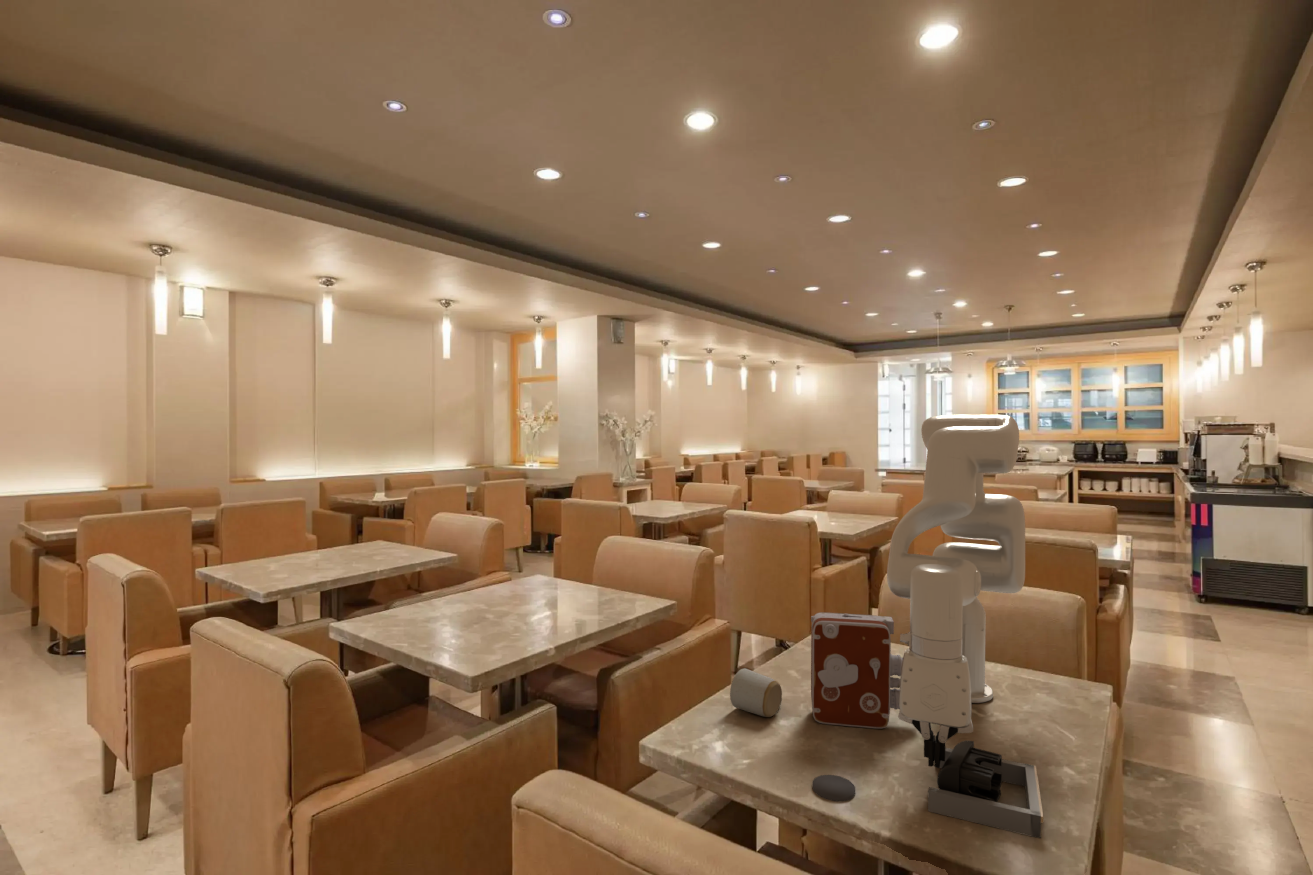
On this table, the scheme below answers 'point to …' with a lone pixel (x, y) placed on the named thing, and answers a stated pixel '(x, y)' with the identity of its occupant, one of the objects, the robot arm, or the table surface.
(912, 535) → the robot arm
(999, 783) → the end cap
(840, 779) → the lens cap
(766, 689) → the ceramic mug
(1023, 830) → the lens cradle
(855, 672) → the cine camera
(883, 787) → the table surface
